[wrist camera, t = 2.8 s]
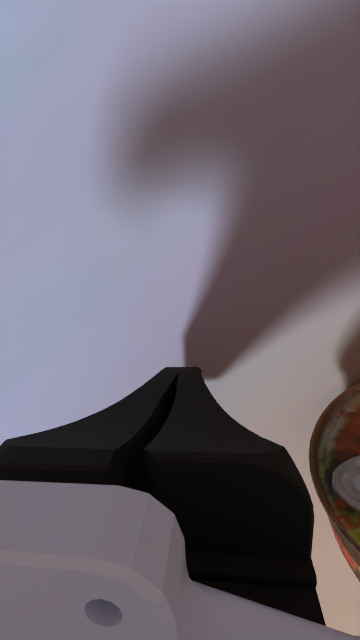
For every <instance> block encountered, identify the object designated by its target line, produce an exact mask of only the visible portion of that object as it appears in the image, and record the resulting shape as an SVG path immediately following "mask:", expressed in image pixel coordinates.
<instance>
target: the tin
mask: <svg viewBox="0 0 360 640" xmlns="http://www.w3.org/2000/svg"><path fill="white" fill-rule="evenodd" d="M309 464H310V472H311V476H312V480H313V483H314V486H315V489H316V492H317V495H318V497H319V499H320V501H321V503H322V505H323V507H324V509H325V511H326V513H327V515H328V518H329V521H330V524H331V527H332V529H333V532H334V535H335V538H336V540H337V542H338V544H339V546H340V548H341V551H342V553H343V555H344V557H345V558H346V560H347V562H348V564H349V566H350V567H351V569H352V570H353V572H354V574H355V575H356V577H357V578H358V580H359V581H360V382H359V383H357V384H356V385H354V386H352V387H350V388H349V389H347V390H346V391H344V392H343V393H342V394H340V395H339V396H338V397H336V398H335V399H334V400H333V401H332V402H331V403H330V404H329V405H328V407H327V408H326V409H325V410H324V412H323V413H322V414H321V416H320V418H319V419H318V421H317V423H316V425H315V428H314V431H313V433H312V437H311V440H310V448H309Z"/></svg>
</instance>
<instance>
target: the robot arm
mask: <svg viewBox="0 0 360 640" xmlns="http://www.w3.org/2000/svg"><path fill="white" fill-rule="evenodd" d="M313 527H314V512H313V504H312V501H311V498H310V494H309V492H308V489H307V487H306V485H305V483H304V481H303V478H302V476H301V475H300V473H299V471H298V469H297V467H296V465H295V463H294V462H293V460H292V458H291V457H290V455H289V453H288V452H287V450H286V449H285V447H283V446H281V445H278V444H276V443H274V442H272V441H269V440H267V439H265V438H262V437H260V436H258V435H257V434H255V433H253V432H251V431H250V430H248V429H246V428H245V427H243V426H242V425H240V424H239V423H238V422H237V421H235V420H234V419H233V418H231V417H230V416H229V415H228V414H227V413H226V412H225V411H224V410H223V409H222V408H221V406H220V405H219V404H218V403H217V401H216V400H215V399H214V397H213V396H212V394H211V393H210V391H209V389H208V388H207V386H206V384H205V382H204V380H203V378H202V375H201V369H200V368H199V367H166V368H164V369H163V370H161V371H160V372H159V373H158V374H156V375H155V376H154V377H153V378H151V379H150V380H149V381H148V382H146V383H145V384H144V385H143V386H141V387H140V388H138V389H137V390H135V391H134V392H132V393H131V394H130V395H128V396H127V397H125V398H124V399H122V400H120V401H119V402H117V403H115V404H113V405H111V406H109V407H108V408H106V409H104V410H102V411H99V412H97V413H95V414H92V415H90V416H88V417H85V418H83V419H81V420H78V421H75V422H72V423H70V424H67V425H64V426H60V427H57V428H54V429H50V430H47V431H43V432H39V433H34V434H30V435H26V436H21V437H17V438H12V439H7V440H5V441H4V442H3V443H2V445H1V446H0V640H360V636H353V635H350V634H347V633H344V632H341V631H338V630H335V629H332V628H330V627H327V626H326V625H325V621H324V617H323V614H322V610H321V606H320V603H319V599H318V595H317V592H316V588H315V587H316V585H317V579H316V574H315V570H314V567H313V563H312V560H311V551H312V539H313Z"/></svg>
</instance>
